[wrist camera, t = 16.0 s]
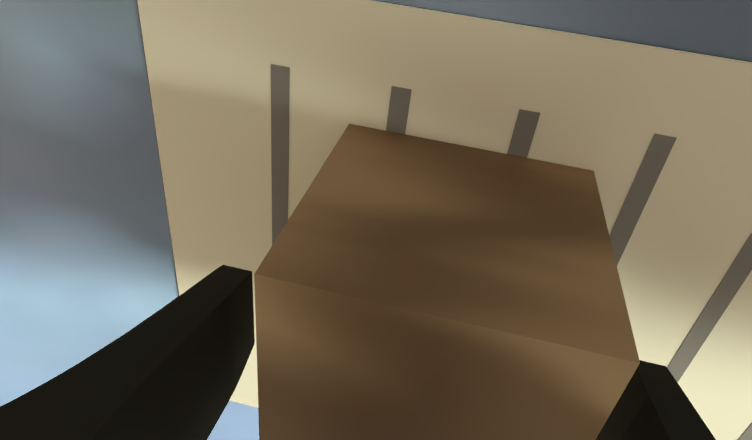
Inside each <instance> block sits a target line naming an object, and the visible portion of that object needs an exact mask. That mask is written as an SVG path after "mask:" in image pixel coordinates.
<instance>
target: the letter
mask: <svg viewBox="0 0 752 440" xmlns="http://www.w3.org/2000/svg"><path fill="white" fill-rule="evenodd" d="M137 2H138V9H139V16H140V23H141V30H142V37H143V44H144V51H145V58H146V65H147V72H148V79H149V86H150V93H151V100H152V107H153V114H154V121H155V128H156V135H157V142H158V149H159V156H160V163H161V170H162V177H163V184H164V191H165V198H166V206H167V213H168V220H169V227H170V234H171V241H172V248H173V255H174V262H175V269H176V276H177V283H178V290H179V296H180V295H181V294H183V293H184V292H185V291H187V290H188V289H189V288H191V287H192V286H194V285H195V284H196V283H198V282H199V281H200V280H202V279H203V278H204V277H206V276H207V275H209V274H210V273H211V272H213V271H214V270H216V269H217V268H219V267H220V266H222V265H227V266H231V267H235V268H240V269H244V270H249V271H252V282H253V309H254V337H255V344H254V346H253V349H252V351H251V354H250V356H249V358H248V361H247V363H246V366H245V368H244V370H243V373H242V375H241V377H240V380H239V382H238V384H237V386H236V389H235V391H234V392H233V394H232V396H231V398H230V401H234V402H238V403H242V404H245V405H249V406H253V407H257V408H258V377H257V345H256V314H255V282H254V274H255V272H256V270H257V269H258V267H259V266H260V264H261V262H262V261H263V259H264V258H265V256H266V255H267V253H268V251H269V250H270V248H271V247H272V245H273V243H274V242H275V240H276V239H277V237H278V235H279V234H280V232H281V231H282V229H283V228H284V226H285V224H286V223H287V221H288V220H289V218H290V216H291V215H292V213H293V212H294V210H295V209H296V207H297V205H298V204H299V202H300V201H301V199H302V197H303V196H304V194H305V193H306V191H307V190H308V188H309V186H310V185H311V183H312V182H313V180H314V178H315V177H316V175H317V174H318V172H319V170H320V169H321V167H322V166H323V164H324V163H325V161H326V159H327V158H328V156H329V155H330V153H331V151H332V150H333V148H334V147H335V145H336V144H337V142H338V140H339V139H340V137H341V136H342V134H343V132H344V131H345V129H346V128H347V126H348V125H349V124H354V125H359V126H364V127H369V128H374V129H380V130H385V131H390V132H395V133H400V134H406V135H411V136H416V137H421V138H426V139H432V140H437V141H442V142H447V143H452V144H457V145H463V146H468V147H473V148H478V149H483V150H489V151H494V152H499V153H504V154H509V155H514V156H520V157H525V158H530V159H535V160H540V161H546V162H551V163H556V164H561V165H566V166H572V167H577V168H582V169H587V170H592V171H594V174H595V178H596V182H597V186H598V190H599V195H600V199H601V203H602V207H603V211H604V215H605V219H606V224H607V228H608V232H609V236H610V240H611V244H612V249H613V253H614V257H615V261H616V265H617V269H618V273H619V278H620V282H621V286H622V290H623V294H624V298H625V303H626V307H627V311H628V315H629V319H630V323H631V327H632V332H633V336H634V340H635V344H636V348H637V352H638V357H639V360H641V361H646V362H650V363H654V364H659V365H663V366H666V367H667V368H668V370H669V371H670V373H671V374H672V375H673V377H674V378H675V380H676V381H677V383H678V384H679V386H680V387H681V389H682V390H683V392H684V393H685V395H686V396H687V398H688V399H689V401H690V402H691V403H692V405H693V406H694V408H695V409H696V411H697V412H698V414H699V415H700V417H701V418H702V420H703V421H704V423H705V424H706V426H707V427H708V429H709V430H710V432H711V433H712V435H713V436H714V437H715V439H716V440H752V62H747V61H741V60H735V59H729V58H723V57H717V56H710V55H704V54H698V53H692V52H686V51H680V50H674V49H668V48H661V47H655V46H649V45H643V44H637V43H631V42H625V41H619V40H612V39H606V38H600V37H594V36H588V35H582V34H576V33H570V32H563V31H557V30H551V29H545V28H539V27H533V26H527V25H520V24H514V23H508V22H502V21H496V20H490V19H484V18H478V17H471V16H465V15H459V14H453V13H447V12H441V11H435V10H429V9H422V8H416V7H410V6H404V5H398V4H392V3H386V2H380V1H373V0H137Z"/></svg>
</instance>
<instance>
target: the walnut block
mask: <svg viewBox="0 0 752 440" xmlns="http://www.w3.org/2000/svg"><path fill="white" fill-rule="evenodd" d="M254 282H255V314H256V345H257V377H258V409H259V440H596V438H597V436H598V435H599V433H600V431H601V429H602V428H603V426H604V424H605V423H606V421H607V419H608V417H609V416H610V414H611V412H612V410H613V409H614V407H615V405H616V404H617V402H618V400H619V398H620V397H621V395H622V393H623V392H624V390H625V388H626V386H627V385H628V383H629V381H630V379H631V378H632V376H633V374H634V373H635V371H636V369H637V367H638V366H639V364H640V361H639V357H638V352H637V348H636V344H635V340H634V336H633V332H632V327H631V323H630V319H629V315H628V311H627V307H626V303H625V298H624V294H623V290H622V286H621V282H620V278H619V273H618V269H617V265H616V261H615V257H614V253H613V249H612V244H611V240H610V236H609V232H608V228H607V224H606V219H605V215H604V211H603V207H602V203H601V199H600V195H599V190H598V186H597V182H596V178H595V174H594V171H592V170H587V169H582V168H577V167H572V166H566V165H561V164H556V163H551V162H546V161H540V160H535V159H530V158H525V157H520V156H514V155H509V154H504V153H499V152H494V151H489V150H483V149H478V148H473V147H468V146H463V145H457V144H452V143H447V142H442V141H437V140H432V139H426V138H421V137H416V136H411V135H406V134H400V133H395V132H390V131H385V130H380V129H374V128H369V127H364V126H359V125H354V124H349V125H348V126H347V128H346V129H345V131H344V132H343V134H342V136H341V137H340V139H339V140H338V142H337V144H336V145H335V147H334V148H333V150H332V151H331V153H330V155H329V156H328V158H327V159H326V161H325V163H324V164H323V166H322V167H321V169H320V170H319V172H318V174H317V175H316V177H315V178H314V180H313V182H312V183H311V185H310V186H309V188H308V190H307V191H306V193H305V194H304V196H303V197H302V199H301V201H300V202H299V204H298V205H297V207H296V209H295V210H294V212H293V213H292V215H291V216H290V218H289V220H288V221H287V223H286V224H285V226H284V228H283V229H282V231H281V232H280V234H279V235H278V237H277V239H276V240H275V242H274V243H273V245H272V247H271V248H270V250H269V251H268V253H267V255H266V256H265V258H264V259H263V261H262V262H261V264H260V266H259V267H258V269H257V270H256V272H255V274H254Z"/></svg>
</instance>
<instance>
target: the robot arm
mask: <svg viewBox="0 0 752 440" xmlns="http://www.w3.org/2000/svg"><path fill="white" fill-rule="evenodd" d="M254 344H255V337H254V309H253V282H252V271H249V270H244V269H240V268H235V267H231V266H227V265H222V266H220V267H219V268H217V269H216V270H214V271H213V272H211V273H210V274H209V275H207V276H206V277H204V278H203V279H202V280H200V281H199V282H198V283H196V284H195V285H194V286H192V287H191V288H189V289H188V290H187V291H185V292H184V293H183V294H181V295H180V296H178V297H177V298H176V299H174V300H173V301H172V302H170V303H169V304H167V305H166V306H165V307H163V308H162V309H160V310H159V311H157V312H156V313H155V314H153V315H152V316H150V317H149V318H147V319H146V320H144V321H143V322H142V323H140V324H139V325H137V326H136V327H134V328H133V329H131V330H130V331H129V332H127V333H126V334H124V335H123V336H121V337H120V338H118V339H116V340H115V341H113V342H112V343H110V344H109V345H107V346H105V347H104V348H102V349H101V350H99V351H97V352H96V353H94V354H93V355H91V356H90V357H88V358H86V359H85V360H83V361H82V362H80V363H78V364H77V365H75V366H73V367H72V368H70V369H68V370H67V371H65V372H63V373H62V374H60V375H58V376H56V377H55V378H53V379H51V380H49V381H48V382H46V383H44V384H42V385H41V386H39V387H37V388H35V389H33V390H31V391H29V392H28V393H26V394H24V395H22V396H20V397H18V398H17V399H15V400H13V401H11V402H9V403H7V404H5V405H3V406H1V407H0V440H207V438H208V437H209V435H210V433H211V431H212V430H213V428H214V426H215V424H216V423H217V421H218V419H219V417H220V416H221V414H222V412H223V410H224V409H225V407H226V405H227V403H228V401H229V400H230V398H231V396H232V394H233V392H234V391H235V389H236V386H237V384H238V382H239V380H240V377H241V375H242V373H243V370H244V368H245V366H246V363H247V361H248V358H249V356H250V354H251V351H252V349H253V346H254ZM639 361H640V364H639V366H638V367H637V369H636V371H635V373H634V374H633V376H632V378H631V379H630V381H629V383H628V385H627V386H626V388H625V390H624V392H623V393H622V395H621V397H620V398H619V400H618V402H617V404H616V405H615V407H614V409H613V410H612V412H611V414H610V416H609V417H608V419H607V421H606V423H605V424H604V426H603V428H602V429H601V431H600V433H599V435H598V436H597V438H596V440H716V439H715V437H714V436H713V435H712V433H711V432H710V430H709V429H708V427H707V426H706V424H705V423H704V421H703V420H702V418H701V417H700V415H699V414H698V412H697V411H696V409H695V408H694V406H693V405H692V403H691V402H690V401H689V399H688V398H687V396H686V395H685V393H684V392H683V390H682V389H681V387H680V386H679V384H678V383H677V381H676V380H675V378H674V377H673V375H672V374H671V373H670V371H669V370H668V368H667V367H666V366H663V365H659V364H654V363H650V362H646V361H641V360H639Z"/></svg>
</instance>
